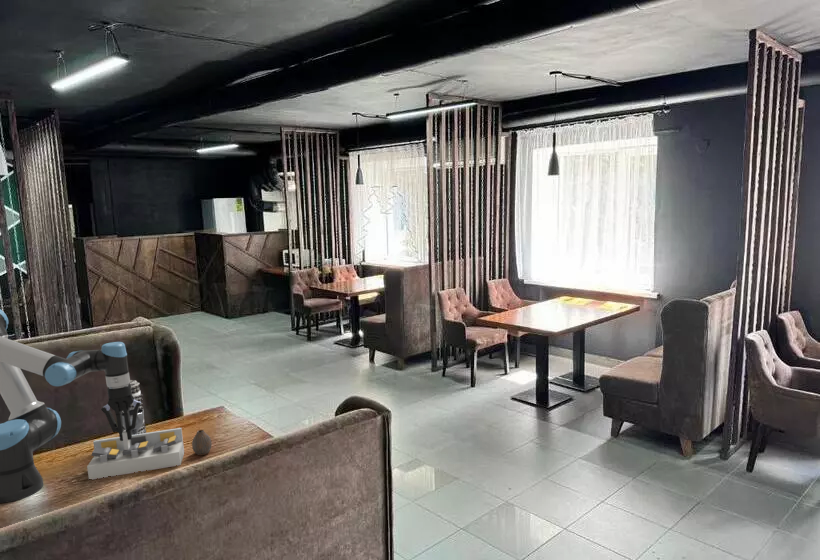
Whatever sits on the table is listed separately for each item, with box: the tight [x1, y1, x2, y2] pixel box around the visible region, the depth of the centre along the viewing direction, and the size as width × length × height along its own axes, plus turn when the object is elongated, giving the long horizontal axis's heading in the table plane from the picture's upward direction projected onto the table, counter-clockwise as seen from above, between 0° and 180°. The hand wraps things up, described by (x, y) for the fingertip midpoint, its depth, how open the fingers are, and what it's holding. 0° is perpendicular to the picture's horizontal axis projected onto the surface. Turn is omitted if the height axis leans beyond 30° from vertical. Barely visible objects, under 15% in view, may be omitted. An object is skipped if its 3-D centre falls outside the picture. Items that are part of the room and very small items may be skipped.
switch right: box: [153, 435, 178, 452], centre depth 206 cm, size 8×5×2 cm, turn 105°
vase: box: [191, 429, 213, 456], centre depth 212 cm, size 7×7×9 cm
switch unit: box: [86, 427, 185, 480], centre depth 204 cm, size 30×11×10 cm, turn 105°
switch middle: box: [122, 441, 149, 455], centre depth 203 cm, size 8×5×2 cm, turn 105°
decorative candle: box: [121, 379, 147, 434], centre depth 227 cm, size 9×9×25 cm
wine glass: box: [122, 408, 145, 435], centre depth 219 cm, size 8×8×15 cm
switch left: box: [91, 447, 120, 459], centre depth 201 cm, size 8×5×2 cm, turn 105°
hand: (127, 448), depth 202 cm, fingers closed
